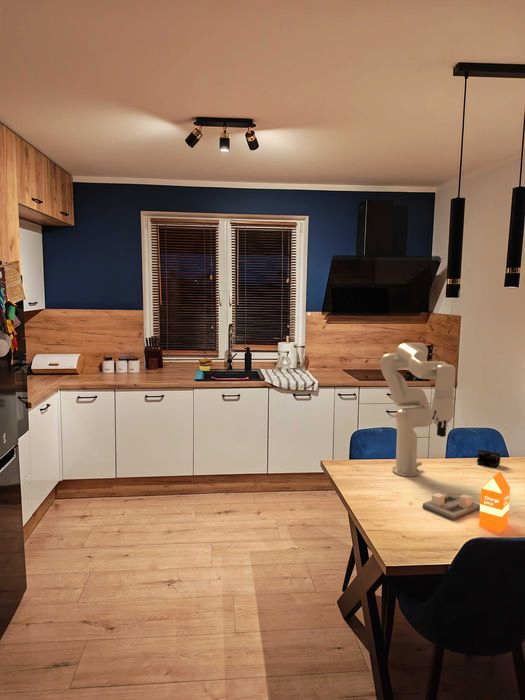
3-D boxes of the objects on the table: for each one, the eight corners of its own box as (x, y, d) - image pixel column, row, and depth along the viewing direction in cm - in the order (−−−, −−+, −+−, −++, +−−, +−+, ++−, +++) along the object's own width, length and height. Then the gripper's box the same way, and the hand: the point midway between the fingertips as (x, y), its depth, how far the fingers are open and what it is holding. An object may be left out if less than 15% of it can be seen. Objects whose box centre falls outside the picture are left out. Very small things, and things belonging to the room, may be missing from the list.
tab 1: (437, 503, 207) (438, 492, 207) (444, 505, 205) (444, 495, 204) (431, 505, 205) (432, 495, 204) (437, 507, 202) (438, 497, 202)
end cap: (500, 465, 258) (501, 452, 258) (497, 468, 253) (497, 455, 252) (479, 461, 264) (480, 448, 263) (475, 464, 259) (476, 451, 258)
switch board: (449, 498, 215) (449, 493, 215) (480, 509, 204) (480, 504, 204) (422, 508, 205) (422, 503, 205) (453, 520, 194) (453, 515, 193)
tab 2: (464, 504, 206) (465, 494, 206) (471, 506, 204) (472, 496, 203) (458, 506, 204) (459, 496, 203) (465, 509, 201) (466, 498, 201)
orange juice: (508, 524, 191) (511, 473, 189) (500, 532, 184) (504, 479, 182) (486, 518, 196) (489, 468, 194) (478, 526, 189) (481, 474, 187)
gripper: (447, 390, 221) (444, 430, 224) (425, 394, 213) (422, 436, 215) (462, 393, 215) (459, 435, 218) (440, 397, 207) (437, 441, 209)
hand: (441, 435), depth 217 cm, fingers closed
